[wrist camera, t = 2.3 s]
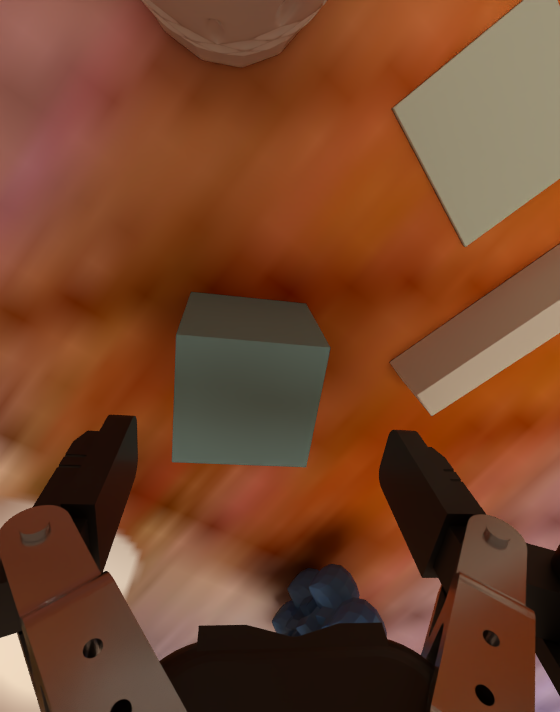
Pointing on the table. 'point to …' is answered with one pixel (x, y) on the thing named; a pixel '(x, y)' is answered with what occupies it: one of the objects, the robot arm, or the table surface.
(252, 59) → the white cup
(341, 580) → the grapes
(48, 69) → the table surface
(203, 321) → the teal block
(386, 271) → the table surface
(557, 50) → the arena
